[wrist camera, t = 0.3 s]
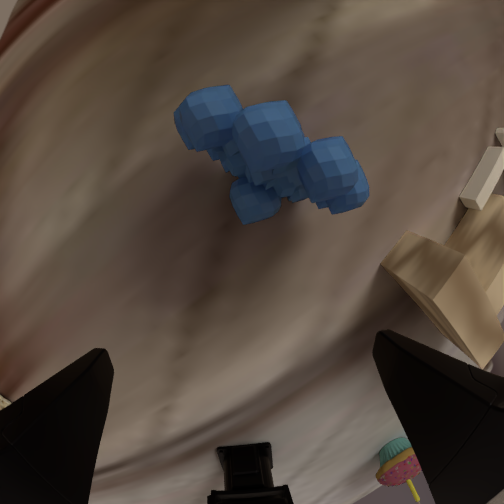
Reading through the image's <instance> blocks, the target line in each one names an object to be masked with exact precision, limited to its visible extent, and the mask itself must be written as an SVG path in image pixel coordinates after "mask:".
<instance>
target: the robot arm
mask: <svg viewBox="0 0 504 504" xmlns="http://www.w3.org/2000/svg"><path fill="white" fill-rule="evenodd" d="M372 353H373V358H374V361H375V363H376V366H377V369H378V371H379V374H380V377H381V380H382V383H383V385H384V388H385V391H386V393H387V395H388V397H389V399H390V401H391V403H392V405H393V407H394V409H395V412H396V414H397V416H398V418H399V420H400V422H401V424H402V426H403V428H404V431H405V433H406V435H407V437H408V439H409V442H410V444H411V446H412V448H413V451H414V453H415V455H416V457H417V460H418V462H419V464H420V467H421V469H422V471H423V473H424V476H425V478H426V480H427V483H428V485H429V488H430V491H431V493H432V496H433V498H434V501H435V503H436V504H504V377H501V376H498V375H495V374H492V373H489V372H487V371H484V370H482V369H479V368H477V367H474V366H472V365H470V364H468V365H467V363H465V362H463V361H460V360H458V359H456V358H453V357H451V356H449V355H446V354H444V353H442V352H439V351H437V350H435V349H432V348H430V347H428V346H426V345H423V344H421V343H419V342H416V341H414V340H412V339H410V338H407V337H405V336H403V335H400V334H398V333H396V332H394V331H391V330H389V329H387V330H381V331H378V332H377V334H376V338H375V342H374V346H373V352H372ZM113 376H114V369H113V365H112V363H111V360H110V357H109V354H108V352H107V350H106V349H104V348H94V349H93V350H91V351H89V352H88V353H86V354H85V355H83V356H82V357H80V358H79V359H77V360H76V361H74V362H73V363H71V364H70V365H68V366H67V367H65V368H64V369H62V370H61V371H59V372H58V373H56V374H55V375H53V376H52V377H50V378H49V379H47V380H46V381H44V382H43V383H41V384H40V385H38V386H37V387H35V388H34V389H32V390H31V391H29V392H28V393H26V394H25V395H24V397H23V396H22V397H20V398H19V399H18V400H16V401H15V402H13V403H11V404H10V405H8V406H7V407H5V408H3V409H2V410H0V504H88V501H89V495H90V489H91V484H92V478H93V473H94V468H95V463H96V459H97V454H98V450H99V445H100V441H101V437H102V433H103V429H104V425H105V421H106V417H107V413H108V407H109V401H110V394H111V388H112V382H113ZM217 454H218V457H219V459H220V462H221V465H222V468H223V471H224V486H225V491H216V490H211V495H209V496H207V504H294V503H293V500H292V497H291V494H290V491H289V488H288V485H283V486H277V487H274V484H273V478H272V473H271V469H272V468H273V463H272V451H271V444H270V443H269V442H265V443H257V444H248V445H238V446H226V447H218V448H217Z"/></svg>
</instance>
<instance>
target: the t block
mask: <svg viewBox="0 0 504 504" xmlns="http://www.w3.org/2000/svg"><path fill="white" fill-rule="evenodd" d="M380 264H381V265H382V266H383V268H384V269H385V270H386V271H387V272H388V273H389V274H390V275H391V276H392V277H393V278H394V279H395V280H396V281H397V283H398V284H399V285H400V286H401V287H402V288H403V289H404V290H405V291H406V292H407V294H408V295H409V296H410V297H411V298H412V299H413V300H414V301H415V303H416V304H417V305H418V306H419V307H420V308H421V309H422V311H423V312H424V313H425V314H426V315H427V316H428V318H429V319H430V320H431V321H432V322H433V323H434V325H435V326H436V327H437V328H438V329H439V331H440V332H441V333H442V334H443V335H444V336H445V337H447V338H448V339H449V340H450V341H451V342H452V343H453V344H455V345H456V346H457V347H458V348H459V349H460V350H461V351H463V352H464V353H465V354H466V355H467V356H468V357H469V358H470V359H471V360H473V361H474V362H475V363H476V364H477V365H478V366H479V367H480V368H481V369H483V368H484V367H485V365H486V364H487V363H488V362H489V360H490V359H491V358H492V356H493V355H494V354H495V353H496V351H497V350H498V349H499V347H500V346H501V344H502V343H503V342H504V332H503V330H502V327H501V325H500V322H499V320H498V318H497V314H498V313H499V311H500V310H501V308H502V307H503V305H504V196H501V195H496V194H491V195H490V196H489V198H488V200H487V202H486V204H485V205H484V207H483V209H482V211H479V210H475V209H471V208H469V209H468V210H467V212H466V213H465V215H464V217H463V218H462V220H461V221H460V223H459V224H458V226H457V227H456V229H455V230H454V232H453V233H452V235H451V236H450V238H449V239H448V241H447V242H446V244H445V245H441V244H439V243H437V242H434V241H432V240H429V239H427V238H425V237H422V236H420V235H417V234H415V233H412V232H410V231H406V232H405V233H404V235H403V236H402V237H401V238H400V240H399V241H398V242H397V244H396V245H395V246H394V247H393V249H392V250H391V251H390V252H389V254H388V255H387V256H386V257H385V259H384V260H383V261H382V262H381V263H380Z"/></svg>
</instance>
